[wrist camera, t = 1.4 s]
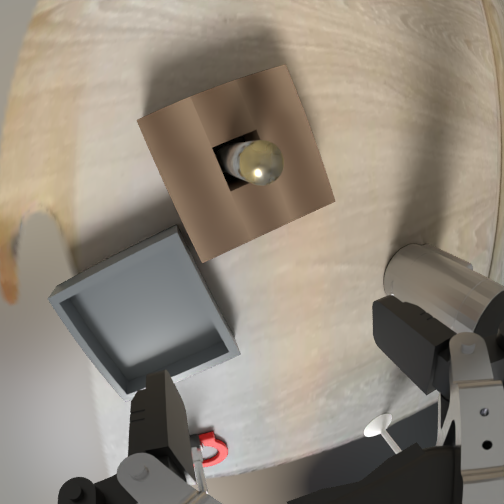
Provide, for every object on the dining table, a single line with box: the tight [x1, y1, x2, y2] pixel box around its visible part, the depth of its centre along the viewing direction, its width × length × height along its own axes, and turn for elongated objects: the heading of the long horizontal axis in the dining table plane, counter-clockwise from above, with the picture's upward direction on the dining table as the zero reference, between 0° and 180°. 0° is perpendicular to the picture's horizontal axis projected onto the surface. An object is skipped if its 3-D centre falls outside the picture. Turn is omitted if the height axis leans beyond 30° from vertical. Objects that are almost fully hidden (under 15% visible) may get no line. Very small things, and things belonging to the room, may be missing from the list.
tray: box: [48, 225, 240, 402], centre depth 34 cm, size 16×16×4 cm
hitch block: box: [137, 64, 335, 263], centre depth 30 cm, size 14×14×6 cm
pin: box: [216, 140, 284, 186], centre depth 27 cm, size 3×3×12 cm
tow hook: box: [189, 431, 228, 494], centre depth 39 cm, size 8×13×9 cm
